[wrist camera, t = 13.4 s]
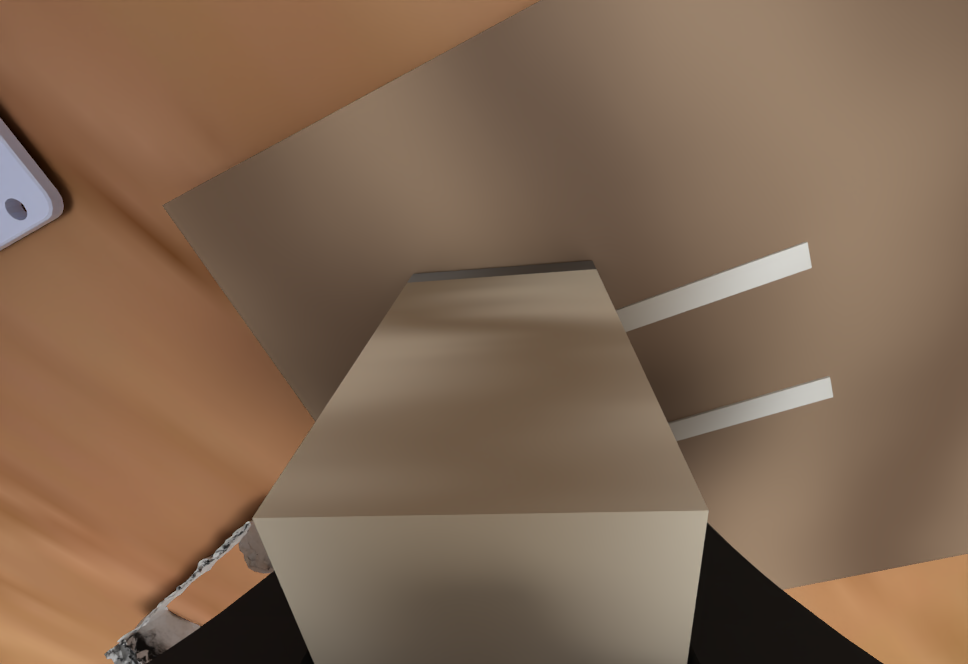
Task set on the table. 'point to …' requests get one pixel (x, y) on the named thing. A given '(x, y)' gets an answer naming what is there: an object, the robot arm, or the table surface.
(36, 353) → the table surface
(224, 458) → the table surface
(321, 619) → the block
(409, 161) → the walnut board
